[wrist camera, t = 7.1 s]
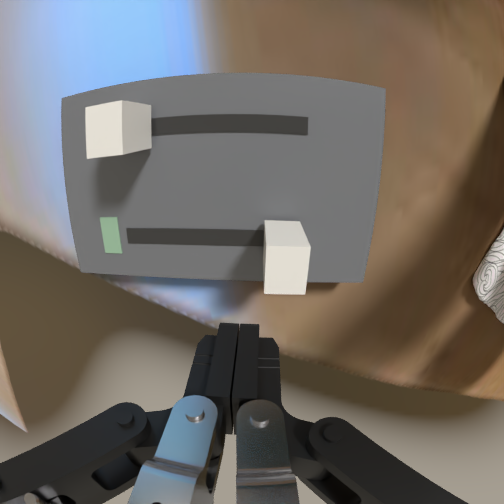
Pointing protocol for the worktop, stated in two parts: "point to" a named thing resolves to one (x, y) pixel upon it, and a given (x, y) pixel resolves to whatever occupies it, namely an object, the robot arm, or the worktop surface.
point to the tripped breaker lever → (285, 257)
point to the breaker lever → (117, 128)
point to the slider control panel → (228, 176)
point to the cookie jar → (492, 278)
